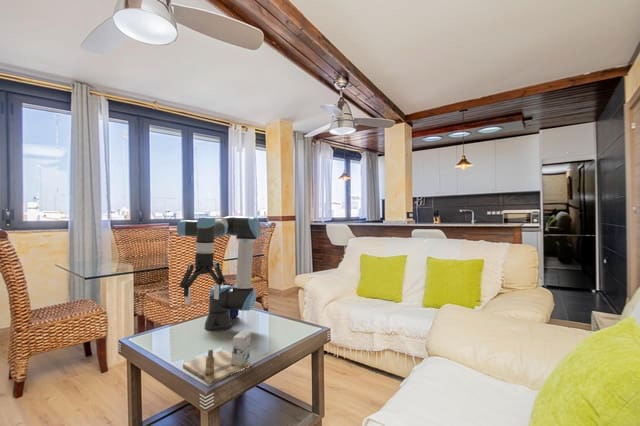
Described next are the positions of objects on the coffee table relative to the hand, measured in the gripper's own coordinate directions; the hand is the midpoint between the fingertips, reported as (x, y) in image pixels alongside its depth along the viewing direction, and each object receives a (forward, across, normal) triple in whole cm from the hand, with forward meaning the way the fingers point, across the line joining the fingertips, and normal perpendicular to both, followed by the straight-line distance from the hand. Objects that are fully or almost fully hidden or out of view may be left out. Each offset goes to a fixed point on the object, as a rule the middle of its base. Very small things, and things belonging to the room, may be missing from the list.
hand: (202, 301), depth 139 cm
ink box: (+26, -12, +13) cm, 31 cm away
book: (+27, -45, -44) cm, 69 cm away
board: (+27, -4, +8) cm, 28 cm away
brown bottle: (+26, +3, +13) cm, 29 cm away
